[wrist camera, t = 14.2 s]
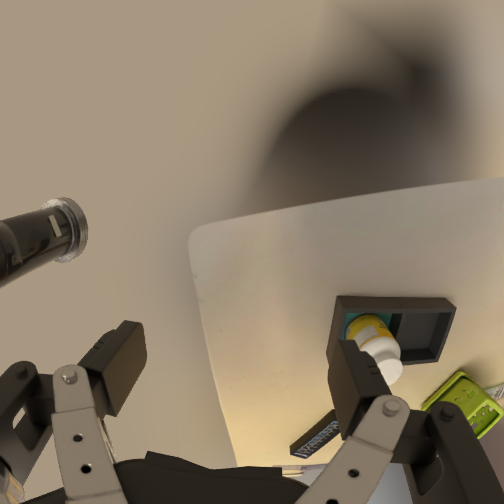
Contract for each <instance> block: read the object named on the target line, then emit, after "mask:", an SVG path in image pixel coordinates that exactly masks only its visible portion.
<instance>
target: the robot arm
mask: <svg viewBox="0 0 504 504" xmlns="http://www.w3.org/2000/svg"><path fill="white" fill-rule="evenodd" d="M74 242H75V229H74V224H73V221H72V219H71V217H70V215H69V214H68V213H67V211H66V210H64V209H63V208H61V207H59V206H51V207H48V208H45V209H41V210H37V211H33V212H30V213H26V214H22V215H18V216H15V217H12V218H8V219H5V220H1V221H0V288H2V287H4V286H6V285H7V284H9V283H11V282H13V281H15V280H16V279H18V278H20V277H22V276H24V275H26V274H28V273H30V272H32V271H34V270H35V269H37V268H39V267H41V266H43V265H45V264H47V263H49V262H51V261H53V260H55V259H57V258H59V257H63V256H65V255H67V254H68V253H69V252H70V251H71V250H72V248H73V245H74ZM146 360H147V351H146V344H145V336H144V329H143V325H142V323H140V322H133V321H127V320H124V321H123V322H122V323H121V324H120V326H119V327H118V328H117V329H116V330H114V329H113V330H111V331H109V332H107V333H105V334H104V335H103V336H102V337H101V338H100V339H99V340H98V342H96V343H95V345H94V346H93V348H91V349H90V350H89V351H88V353H87V354H86V355H85V356H84V357H83V358H82V359H81V361H80V362H79V363H78V364H77V365H66V366H63V367H61V368H59V369H58V370H57V371H55V373H54V374H53V375H49V374H38V371H37V369H36V366H35V365H34V364H33V363H31V362H28V361H20V362H17V363H15V364H13V365H11V366H10V367H9V368H8V369H7V370H6V371H5V372H4V374H3V375H1V377H0V504H367V502H368V500H369V498H370V497H371V495H372V494H373V492H374V490H375V489H376V487H377V485H378V483H379V481H380V480H381V478H382V476H383V474H384V472H385V470H386V468H387V467H388V465H389V463H402V465H403V468H404V472H405V475H406V479H407V482H408V486H409V490H410V493H411V498H412V501H413V504H504V492H503V490H502V487H501V485H500V483H499V481H498V479H497V476H496V474H495V472H494V470H493V468H492V466H491V464H490V462H489V460H488V458H487V456H486V454H485V452H484V450H483V448H482V446H481V444H480V442H479V440H478V438H477V436H476V435H475V433H474V431H473V429H472V427H471V426H470V424H469V422H468V420H467V418H466V417H465V415H464V413H463V411H462V410H461V408H460V407H459V406H457V405H456V404H454V403H452V402H448V401H440V402H437V403H435V404H434V405H433V406H432V408H431V409H430V411H420V410H412V409H410V408H409V405H408V404H407V402H406V401H404V400H403V399H402V398H400V397H397V396H394V395H392V393H391V391H390V389H389V387H388V385H387V383H386V381H385V379H384V377H383V375H382V374H381V371H380V369H379V367H378V365H377V363H376V361H375V359H374V358H373V357H372V356H371V355H370V354H369V353H368V352H366V351H360V349H359V347H358V345H357V343H356V341H355V340H354V339H337V340H336V341H335V344H334V348H333V353H332V357H331V361H330V365H329V369H328V384H329V388H330V392H331V396H332V400H333V404H334V408H335V412H336V416H337V421H338V425H339V429H340V433H341V437H342V441H345V442H344V443H343V445H342V446H341V447H340V449H339V450H338V451H337V453H336V454H335V455H334V457H333V458H332V459H331V461H330V462H329V463H328V465H327V466H326V467H325V468H324V470H323V471H322V472H321V474H320V475H319V476H318V477H317V478H316V480H315V481H314V482H313V483H312V484H311V486H308V485H306V484H304V483H302V482H300V481H297V480H295V479H292V478H288V477H284V476H282V467H254V466H245V467H237V468H227V469H214V470H213V469H208V468H205V467H203V466H200V465H197V464H194V463H192V462H189V461H187V460H184V459H182V458H179V457H174V456H169V455H164V454H160V453H155V452H151V451H147V454H146V456H145V459H132V460H125V461H121V462H119V461H118V459H117V456H116V454H115V451H114V449H113V446H112V443H111V441H110V438H109V435H108V432H107V429H106V426H105V423H104V420H103V419H104V417H105V415H106V414H107V415H111V416H114V417H116V416H117V415H118V413H119V411H120V409H121V407H122V406H123V404H124V402H125V400H126V399H127V397H128V395H129V393H130V391H131V390H132V388H133V386H134V384H135V382H136V381H137V379H138V377H139V376H140V374H141V372H142V370H143V369H144V367H145V364H146ZM21 408H23V409H24V411H25V415H24V416H23V417H22V419H21V420H20V421H19V423H18V424H17V426H16V427H15V428H14V429H13V420H14V417H15V416H16V414H17V413H18V412H19V411H20V409H21ZM52 433H53V434H54V441H55V447H56V452H57V458H58V463H59V468H60V472H61V477H62V481H63V485H64V487H62V488H60V489H57V490H55V491H52V492H50V493H47V494H44V495H42V496H39V497H36V498H33V499H30V500H28V501H25V499H24V489H23V485H24V483H25V481H26V479H27V478H28V476H29V474H30V472H31V470H32V468H33V467H34V465H35V463H36V461H37V459H38V458H39V456H40V454H41V452H42V450H43V449H44V447H45V445H46V444H47V442H48V440H49V439H50V437H51V435H52Z"/></svg>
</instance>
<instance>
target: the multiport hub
mask: <svg viewBox="0 0 504 504" xmlns="http://www.w3.org/2000/svg"><path fill="white" fill-rule="evenodd" d="M339 433H340V429H339V425H338V421H337V416H336V412H335V410H334V409H333V410H331V411H330V412H329V413H328V414H327V415H326V416H325V417H324V418H322V419H321V420H320V421H319V422H318V423H317V424H316V425H315V426H313V427H312V428H311V429H310V430H309V431H308V432H306V433H305V434H304V435H303V436H302V437H300V438H299V439H298V440H297V441H296V442H294V443H293V444H292V445H291V446H290V455H293V456H296V457H300V458H303V459H307V458H308V457H310V456H311V455H312V454H314V453H315V452H316V451H318V450H319V449H320V448H322V447H323V446H324V445H325V444H327V443H328V442H329V441H330V440H332V439H333V438H334V437H335V436H337V435H338V434H339Z"/></svg>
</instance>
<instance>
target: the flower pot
mask: <svg viewBox="0 0 504 504" xmlns="http://www.w3.org/2000/svg"><path fill="white" fill-rule="evenodd" d="M440 401H448V402H452V403H454V404H456V405H457V406H459V407H460V408H461V410H462V411H463V413H464V415H465V417H466V418H467V420H468V422H469V424H470V426H471V425H472V424H473V423H474V422H476V424H477V427H476V428H475V429H474V430H473V431H474V433H475V435H476V436H477V438H478V439H479V438H481V437H482V436H483V435H484V434H485V433H486V432H487V431H488V430H489V429H490V428H491V427H492V426H494V425H495V423H496V422H497V421H499V419H500V418H501V417H502V416H503V415H504V410H503V409H502V408H501V407H500V405H499V404H498V403H497V402H496V401H495V400H494V399H493V398H492V397H491V396H490V395H489V394H487V393H486V392H485V391H484V390H483V389H481V388H480V386H479V385H478V384H477V383H476V382H475V381H474V380H473V379H472V378H470V377H469V376H468V375H467V374H465V373H464V372H462V371H459V372H457V373H456V374H454V375H453V376H452V377H451V378H450V379H449V380H448V381H447V382H446V383H445V384H444V385H443V386H442V387H441V388H440V389H439V390H438V391H437V392H436V393H435V394H434V395H433V396H432V397H431V398H430V399H428V400H427V401H426V402H425V403H424V405H423V406H422V408H421V411H430V409H431V408H432V406H433V405H434V404H435V403H437V402H440ZM485 404H487V406H485V407H483V406H484V405H485ZM490 407H492V408H493V411H491V412H489V408H490ZM483 412H484V413H485V415H484V416H483V415H482V413H483ZM475 413H476V416H475V417H474V416H473V415H474V414H475ZM483 419H484V422H482V420H483Z"/></svg>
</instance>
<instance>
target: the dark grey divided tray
mask: <svg viewBox="0 0 504 504" xmlns="http://www.w3.org/2000/svg"><path fill="white" fill-rule="evenodd" d="M456 309H457V308H456V307H455V306H454V305H453V304H452V303H451V302H449V301H448V300H447V299H446V298H397V297H356V296H337V297H336V303H335V309H334V315H333V320H332V326H331V331H330V336H329V341H328V346H327V351H326V356H327V359H328V363H329V365H330V361H331V357H332V353H333V348H334V344H335V341H336V340H337V339H345V329H346V326H347V324H348V323H349V322H350V320H351V319H352V318H354V317H355V316H357V315H359V314H361V313H374V314H376V315H378V316H379V317H380V318H381V319H382V321H383V322H384V324H385V325H386V327H387V328H388V330H389V331H390V333H391V334H392V336H393V337H394V339H395V340H396V342H397V343H398V345H399V347H400V361H401V363H402V365H413V364H424V363H433V362H438V360H439V358H440V355H441V352H442V350H443V347H444V345H445V342H446V339H447V336H448V333H449V331H450V328H451V325H452V322H453V318H454V315H455V312H456Z"/></svg>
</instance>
